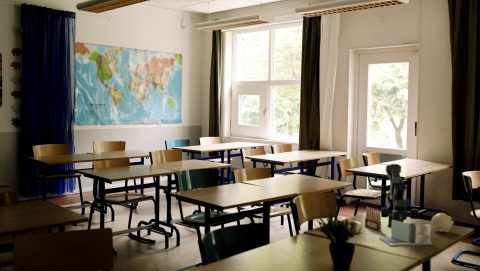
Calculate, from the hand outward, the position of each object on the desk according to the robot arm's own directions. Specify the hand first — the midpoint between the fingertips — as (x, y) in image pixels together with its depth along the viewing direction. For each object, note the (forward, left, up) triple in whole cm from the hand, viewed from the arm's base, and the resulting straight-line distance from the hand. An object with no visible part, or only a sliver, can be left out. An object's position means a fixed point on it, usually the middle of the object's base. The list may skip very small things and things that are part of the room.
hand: (400, 227), depth 242 cm
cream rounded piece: (+16, +29, -7) cm, 33 cm away
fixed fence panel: (+10, -1, -6) cm, 12 cm away
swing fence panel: (0, -1, -6) cm, 6 cm away
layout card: (+3, -1, -7) cm, 7 cm away
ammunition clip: (-18, +14, -7) cm, 24 cm away
